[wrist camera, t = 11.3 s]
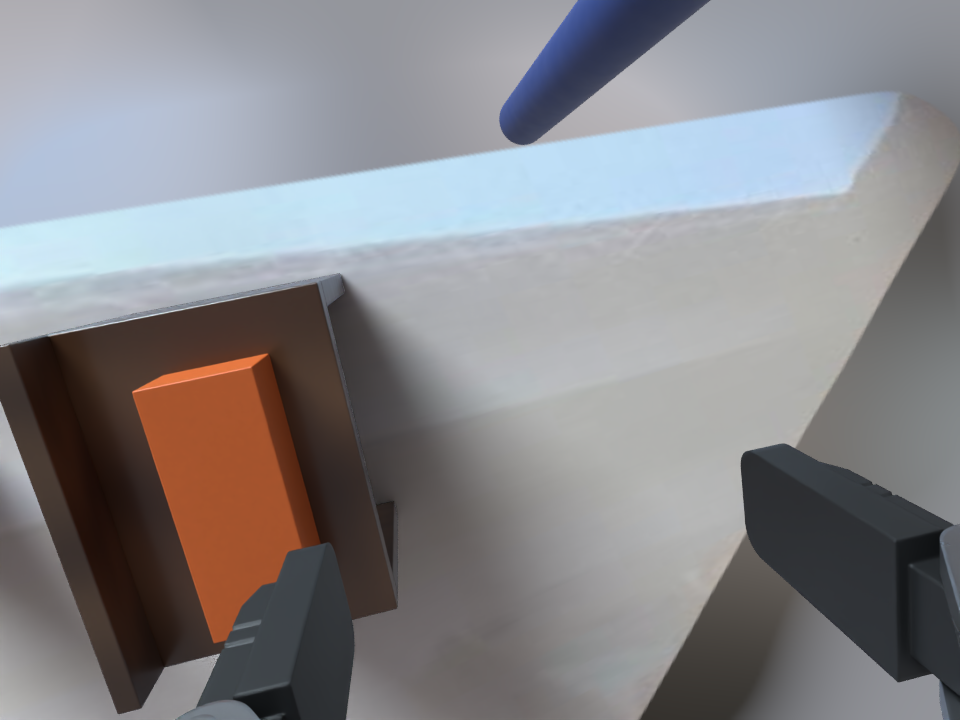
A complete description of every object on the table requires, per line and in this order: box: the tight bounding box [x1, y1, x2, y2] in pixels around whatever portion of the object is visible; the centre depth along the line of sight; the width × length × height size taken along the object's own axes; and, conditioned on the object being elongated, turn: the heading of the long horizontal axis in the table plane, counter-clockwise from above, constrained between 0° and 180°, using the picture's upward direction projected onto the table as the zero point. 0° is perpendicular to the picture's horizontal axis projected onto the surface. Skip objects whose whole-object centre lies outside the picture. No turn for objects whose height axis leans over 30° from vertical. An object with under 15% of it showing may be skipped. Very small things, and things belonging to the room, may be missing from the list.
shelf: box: [0, 273, 398, 714], centre depth 30 cm, size 16×12×12 cm
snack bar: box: [132, 354, 321, 643], centre depth 25 cm, size 11×4×3 cm, turn 11°
